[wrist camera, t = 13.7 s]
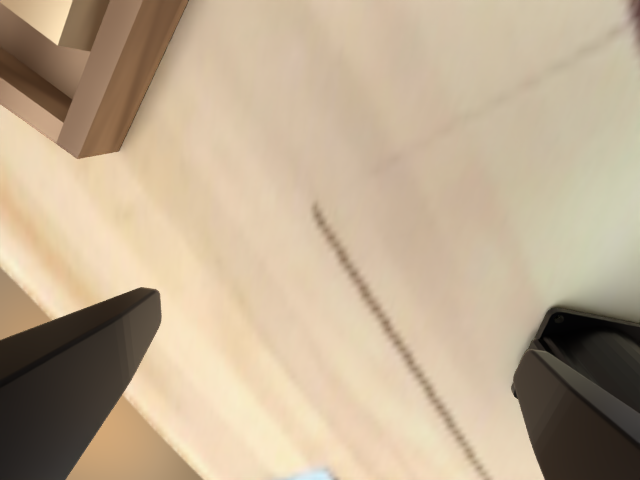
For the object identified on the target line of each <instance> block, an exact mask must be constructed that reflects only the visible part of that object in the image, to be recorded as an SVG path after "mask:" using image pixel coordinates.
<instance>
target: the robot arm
mask: <svg viewBox="0 0 640 480" xmlns="http://www.w3.org/2000/svg"><path fill="white" fill-rule="evenodd" d="M556 316H560V317H559V318H558V319H554V318H555V317H556ZM161 317H162V316H161V300H160V293H159V291H158V290H156V289H151V288H145V287H140V288H137V289H135V290H132V291H130V292H127V293H124V294H122V295H119V296H116V297H114V298H111V299H108V300H106V301H103V302H100V303H98V304H95V305H92V306H90V307H87V308H84V309H82V310H79V311H76V312H74V313H71V314H68V315H66V316H63V317H60V318H58V319H55V320H52V321H50V322H47V323H44V324H42V325H39V326H37V327H34V328H31V329H28V330H26V331H23V332H20V333H18V334H15V335H12V336H10V337H7V338H5V339H2V340H0V480H66V478H67V476H68V475H69V474H70V472H71V471H72V469H73V468H74V466H75V465H76V463H77V462H78V460H79V459H80V457H81V456H82V454H83V453H84V451H85V450H86V448H87V447H88V445H89V443H90V442H91V441H92V439H93V438H94V436H95V435H96V433H97V432H98V430H99V428H100V427H101V426H102V424H103V422H104V421H105V419H106V418H107V417H108V415H109V414H110V412H111V410H112V409H113V408H114V406H115V405H116V403H117V401H118V400H119V398H120V397H121V395H122V394H123V392H124V391H125V389H126V388H127V386H128V385H129V383H130V381H131V380H132V378H133V376H134V374H135V372H136V371H137V369H138V367H139V365H140V363H141V361H142V359H143V357H144V355H145V353H146V351H147V350H148V348H149V346H150V344H151V342H152V340H153V338H154V336H155V334H156V332H157V330H158V328H159V326H160V324H161ZM513 381H514V383H513V385H512V387H511V390H512V393H513V395H514V397H516V398H517V399H518V400H519V404H520V407H521V411H522V414H523V418H524V421H525V425H526V428H527V432H528V435H529V438H530V441H531V444H532V448H533V450H534V453H535V456H536V458H537V461H538V464H539V466H540V469H541V471H542V474H543V476H544V479H545V480H640V324H638V323H633V322H628V321H623V320H618V319H613V318H608V317H603V316H597V315H592V314H587V313H582V312H577V311H572V310H567V309H562V308H553V309H551V310H549V311H548V312H547V313H546V315H545V318H544V320H543V322H542V324H541V326H540V328H539V330H538V332H537V334H536V336H535V339H534V340H533V341H532V342H531V344H530V346H529V348H528V350H527V351H526V352H525V353H524V355H523V357H522V359H521V361H520V363H519V365H518V367H517V369H516V371H515V374H514V379H513Z"/></svg>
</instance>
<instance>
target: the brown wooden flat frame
mask: <svg viewBox="0 0 640 480" xmlns="http://www.w3.org/2000/svg"><path fill="white" fill-rule="evenodd" d="M187 2H188V0H0V104H1V105H2V106H4V107H5V108H7V109H8V110H9V111H11V112H12V113H14V114H15V115H16V116H18V117H19V118H21V119H22V120H23V121H25V122H26V123H28V124H29V125H30V126H32V127H33V128H35V129H36V130H37V131H39V132H40V133H42V134H43V135H44V136H46V137H47V138H49V139H50V140H51V141H53V142H54V143H56V144H57V145H58V146H60V147H61V148H63V149H64V150H66V151H67V152H68V153H70V154H71V155H73V156H74V157H75V158H77V159H80V158H85V157H91V156H96V155H102V154H107V153H112V152H118V151H119V149H120V147H121V145H122V143H123V140H124V138H125V136H126V134H127V132H128V130H129V128H130V125H131V123H132V121H133V119H134V117H135V115H136V112H137V110H138V108H139V106H140V104H141V102H142V100H143V97H144V95H145V93H146V91H147V89H148V87H149V84H150V82H151V80H152V78H153V76H154V74H155V71H156V69H157V67H158V65H159V63H160V61H161V59H162V56H163V54H164V52H165V50H166V48H167V46H168V43H169V41H170V39H171V37H172V35H173V33H174V30H175V28H176V26H177V24H178V22H179V20H180V18H181V15H182V13H183V11H184V9H185V7H186V5H187Z"/></svg>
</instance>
